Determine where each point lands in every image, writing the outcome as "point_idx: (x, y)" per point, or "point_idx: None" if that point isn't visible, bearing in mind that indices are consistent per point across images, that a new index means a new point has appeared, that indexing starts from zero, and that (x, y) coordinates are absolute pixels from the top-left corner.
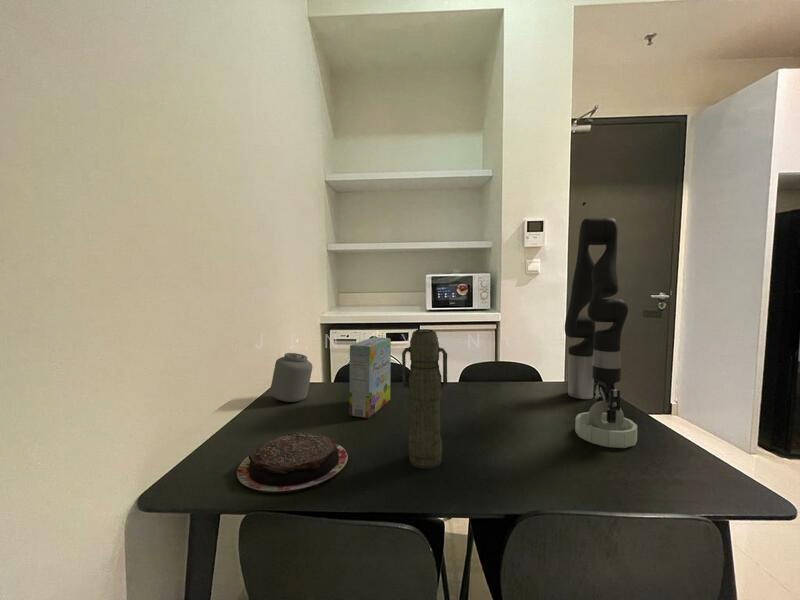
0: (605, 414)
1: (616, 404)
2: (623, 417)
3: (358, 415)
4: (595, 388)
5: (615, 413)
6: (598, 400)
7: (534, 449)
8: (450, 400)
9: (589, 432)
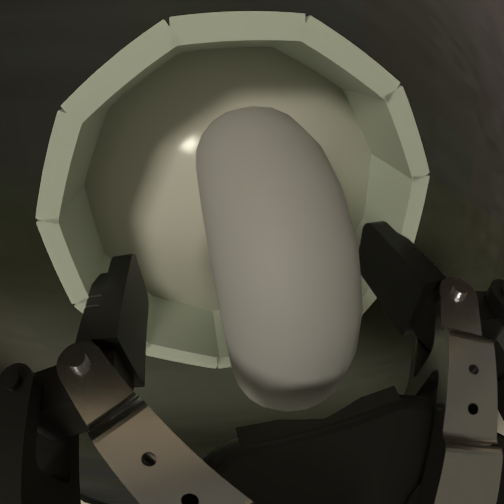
0: (61, 204)
1: (334, 265)
2: (294, 120)
3: None
4: (77, 497)
5: (423, 263)
6: (131, 381)
7: (361, 380)
8: (105, 473)
9: None
